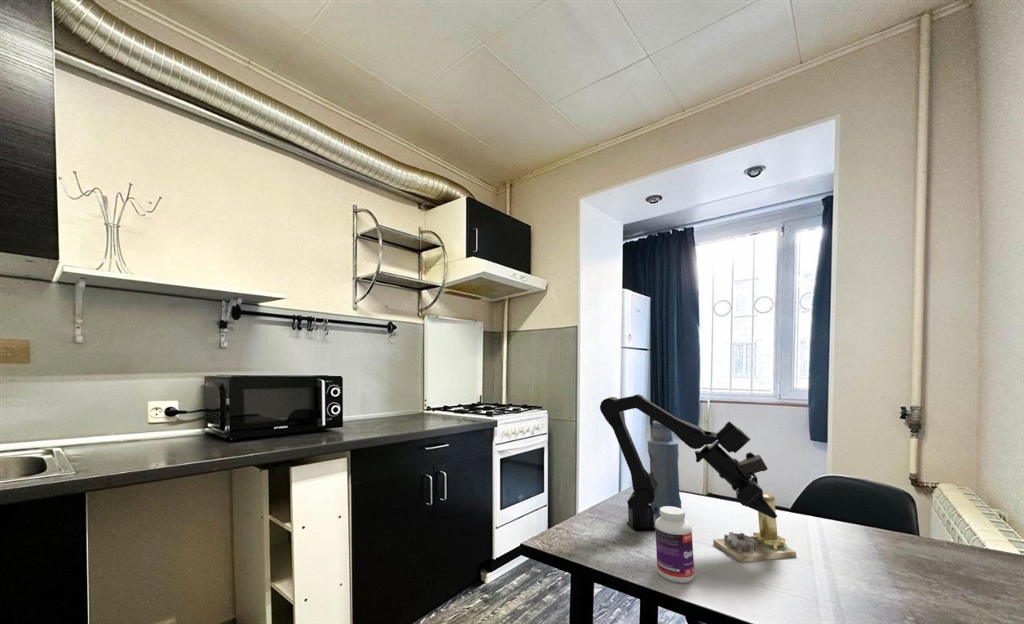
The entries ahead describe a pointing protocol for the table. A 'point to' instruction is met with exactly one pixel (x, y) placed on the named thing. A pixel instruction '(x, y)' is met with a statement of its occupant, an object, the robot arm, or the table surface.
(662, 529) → the pill bottle
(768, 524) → the gear
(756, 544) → the gear board
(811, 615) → the table surface
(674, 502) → the bottle
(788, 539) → the table surface
